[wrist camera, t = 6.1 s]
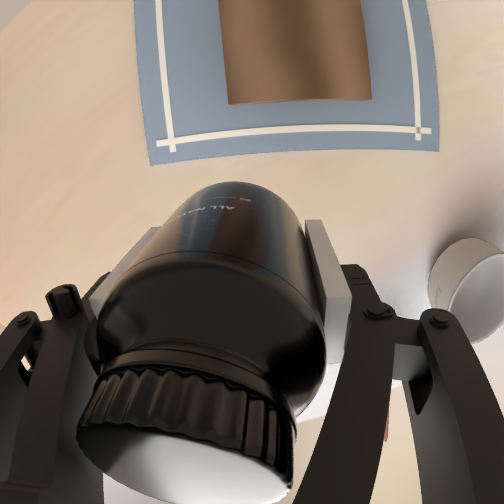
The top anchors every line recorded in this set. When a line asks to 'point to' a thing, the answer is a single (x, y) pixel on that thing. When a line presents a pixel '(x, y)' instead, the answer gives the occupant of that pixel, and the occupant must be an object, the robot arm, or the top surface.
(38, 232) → the top surface
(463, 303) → the teacup
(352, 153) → the top surface
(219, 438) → the supplement bottle
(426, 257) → the top surface
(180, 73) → the board
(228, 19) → the walnut plinth
